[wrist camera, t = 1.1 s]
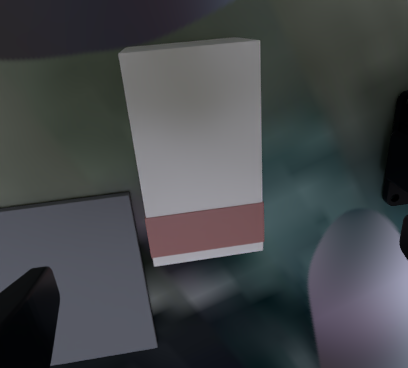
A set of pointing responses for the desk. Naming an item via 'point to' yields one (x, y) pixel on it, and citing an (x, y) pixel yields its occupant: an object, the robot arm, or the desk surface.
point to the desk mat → (84, 272)
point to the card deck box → (197, 145)
